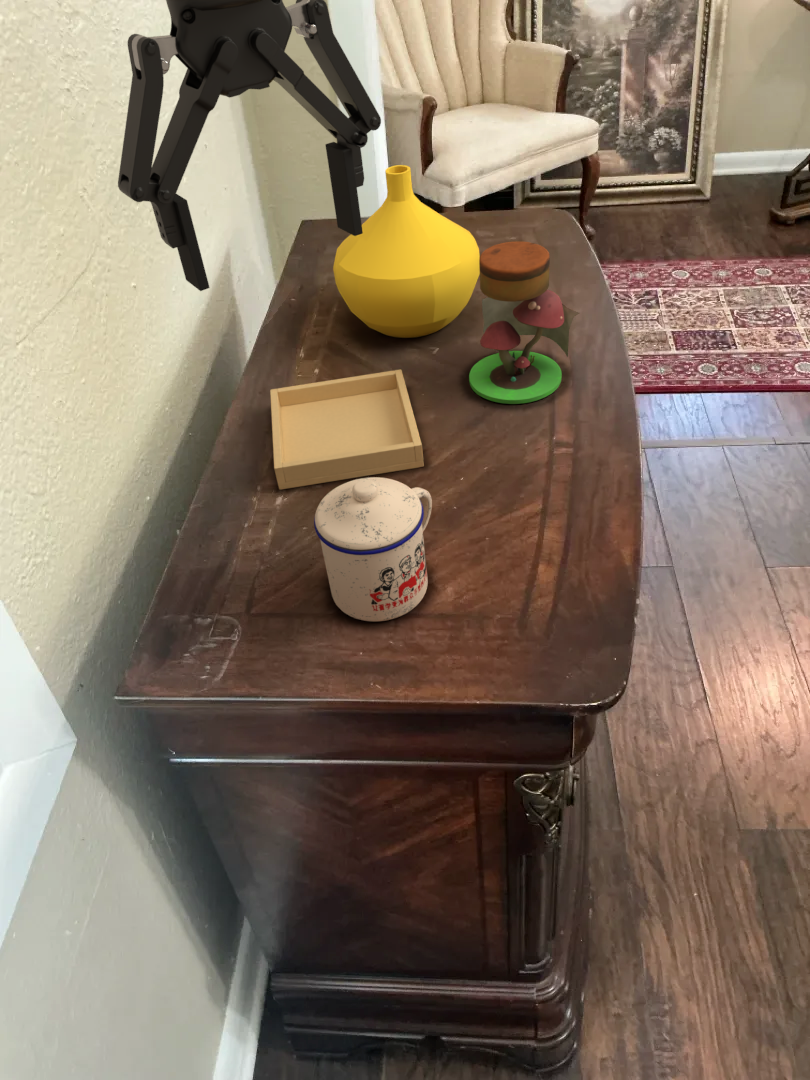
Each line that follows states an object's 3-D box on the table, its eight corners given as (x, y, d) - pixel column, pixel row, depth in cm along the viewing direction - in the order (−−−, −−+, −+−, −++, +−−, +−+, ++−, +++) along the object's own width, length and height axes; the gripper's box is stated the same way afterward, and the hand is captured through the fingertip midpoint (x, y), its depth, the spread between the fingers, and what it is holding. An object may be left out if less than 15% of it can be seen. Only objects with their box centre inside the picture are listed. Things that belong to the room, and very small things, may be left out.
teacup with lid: (384, 642, 72) (368, 539, 64) (308, 596, 77) (284, 495, 69) (471, 560, 78) (465, 457, 71) (395, 523, 83) (382, 423, 75)
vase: (328, 355, 108) (302, 202, 95) (357, 287, 121) (338, 145, 108) (474, 356, 105) (468, 198, 92) (488, 286, 118) (484, 139, 105)
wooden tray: (279, 490, 89) (274, 468, 87) (274, 410, 100) (270, 389, 98) (424, 466, 89) (421, 444, 87) (403, 389, 101) (401, 369, 99)
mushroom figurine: (565, 412, 94) (570, 284, 84) (454, 402, 98) (446, 277, 88) (582, 356, 102) (589, 233, 92) (479, 348, 106) (474, 229, 96)
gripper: (30, -32, 47) (145, 326, 61) (409, -103, 56) (433, 221, 70) (-5, -41, 52) (109, 292, 65) (349, -105, 61) (382, 199, 75)
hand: (276, 256), depth 68 cm, fingers open, 13 cm apart
